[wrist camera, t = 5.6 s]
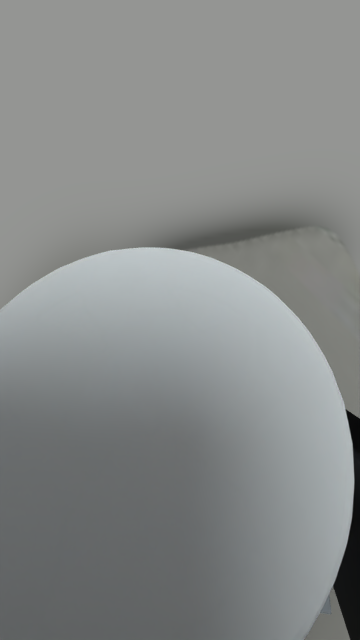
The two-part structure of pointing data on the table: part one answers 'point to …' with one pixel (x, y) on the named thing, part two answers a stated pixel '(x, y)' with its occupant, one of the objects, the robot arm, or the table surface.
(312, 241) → the table surface
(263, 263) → the table surface
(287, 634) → the supplement bottle
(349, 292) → the table surface
